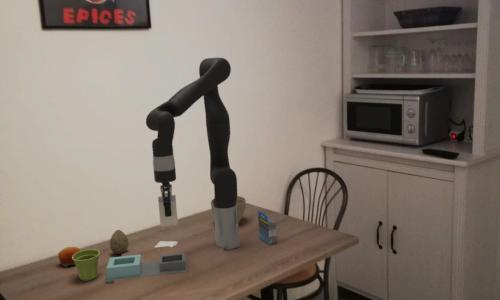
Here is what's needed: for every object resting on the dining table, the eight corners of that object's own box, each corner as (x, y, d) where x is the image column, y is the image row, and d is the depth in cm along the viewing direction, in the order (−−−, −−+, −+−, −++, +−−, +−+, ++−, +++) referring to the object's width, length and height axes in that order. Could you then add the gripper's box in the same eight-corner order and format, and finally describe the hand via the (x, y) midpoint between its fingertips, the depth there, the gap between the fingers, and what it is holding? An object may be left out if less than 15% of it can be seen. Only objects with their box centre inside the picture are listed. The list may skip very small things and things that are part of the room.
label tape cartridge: (277, 242, 188) (276, 214, 186) (268, 244, 186) (267, 215, 184) (266, 236, 196) (265, 208, 194) (258, 238, 194) (257, 210, 192)
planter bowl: (211, 218, 222) (210, 197, 220) (244, 216, 223) (243, 194, 221) (212, 230, 206) (211, 207, 204) (248, 227, 207) (247, 204, 205)
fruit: (60, 268, 170) (57, 247, 173) (60, 271, 177) (57, 251, 179) (83, 263, 174) (80, 242, 176) (82, 266, 181) (78, 247, 183)
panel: (186, 260, 175) (185, 248, 174) (187, 274, 164) (186, 261, 163) (110, 268, 171) (109, 256, 170) (106, 283, 160) (104, 270, 159)
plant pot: (102, 280, 162) (99, 257, 161) (73, 285, 160) (70, 261, 158) (102, 269, 171) (100, 247, 169) (75, 274, 168) (73, 251, 167)
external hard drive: (178, 245, 192) (168, 257, 180) (159, 244, 194) (148, 257, 182) (177, 241, 192) (168, 253, 180) (159, 241, 193) (148, 253, 181)
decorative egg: (120, 248, 190) (118, 225, 188) (133, 251, 186) (130, 228, 184) (107, 255, 184) (104, 231, 182) (120, 258, 180) (117, 234, 178)
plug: (177, 221, 168) (175, 194, 166) (177, 224, 164) (175, 198, 162) (160, 223, 167) (158, 196, 165) (160, 226, 163) (158, 199, 161)
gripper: (175, 171, 155) (179, 219, 159) (175, 162, 169) (178, 207, 172) (152, 173, 154) (157, 221, 157) (154, 164, 168) (158, 209, 171)
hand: (168, 213), depth 165 cm, fingers closed on plug, 4 cm apart
